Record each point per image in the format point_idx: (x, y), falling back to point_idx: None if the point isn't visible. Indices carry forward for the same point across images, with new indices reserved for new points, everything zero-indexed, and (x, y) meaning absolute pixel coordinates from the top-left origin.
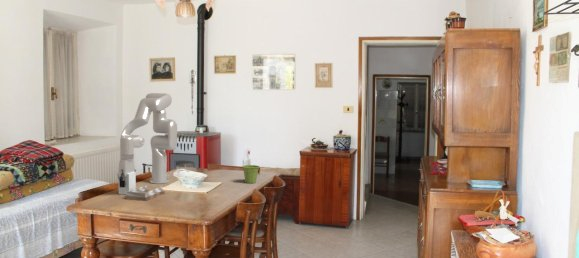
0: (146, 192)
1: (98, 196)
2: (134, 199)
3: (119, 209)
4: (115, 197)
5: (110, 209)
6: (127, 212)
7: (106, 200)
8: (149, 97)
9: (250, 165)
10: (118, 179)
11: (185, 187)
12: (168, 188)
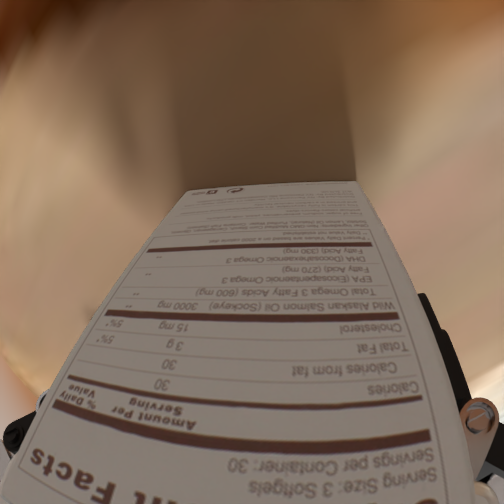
0: None
1: (12, 98)
2: None
3: (26, 376)
4: (76, 263)
5: (3, 353)
6: (38, 398)
7: (8, 262)
8: None
9: None
10: (71, 353)
11: (501, 410)
12: (496, 383)
